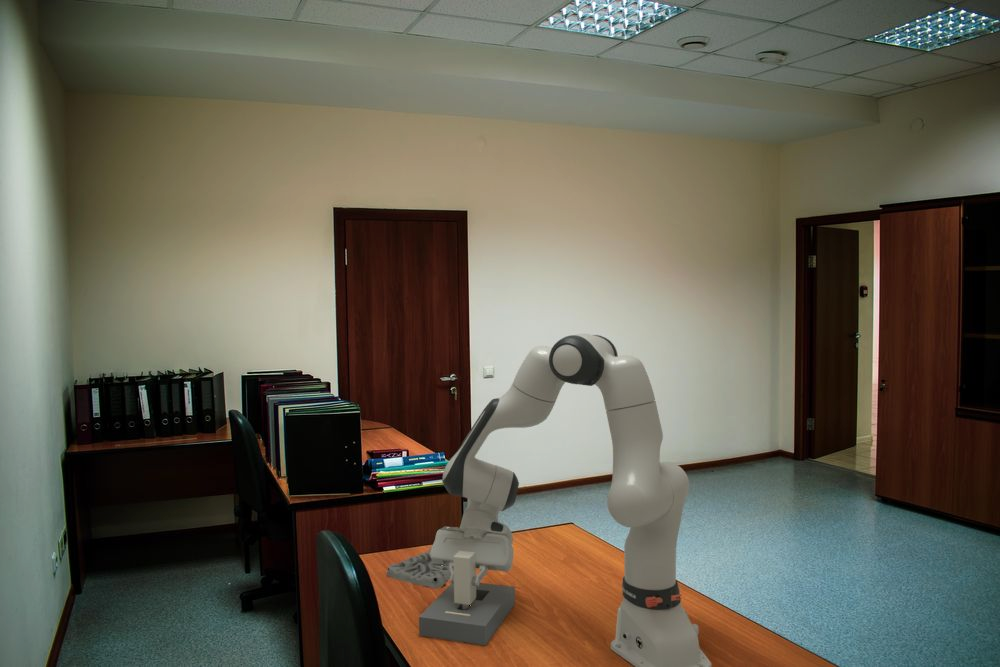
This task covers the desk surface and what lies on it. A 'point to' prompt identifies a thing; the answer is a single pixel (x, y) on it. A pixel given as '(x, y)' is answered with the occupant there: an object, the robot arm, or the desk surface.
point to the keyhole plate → (468, 615)
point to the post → (464, 578)
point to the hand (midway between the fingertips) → (464, 584)
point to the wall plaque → (420, 571)
